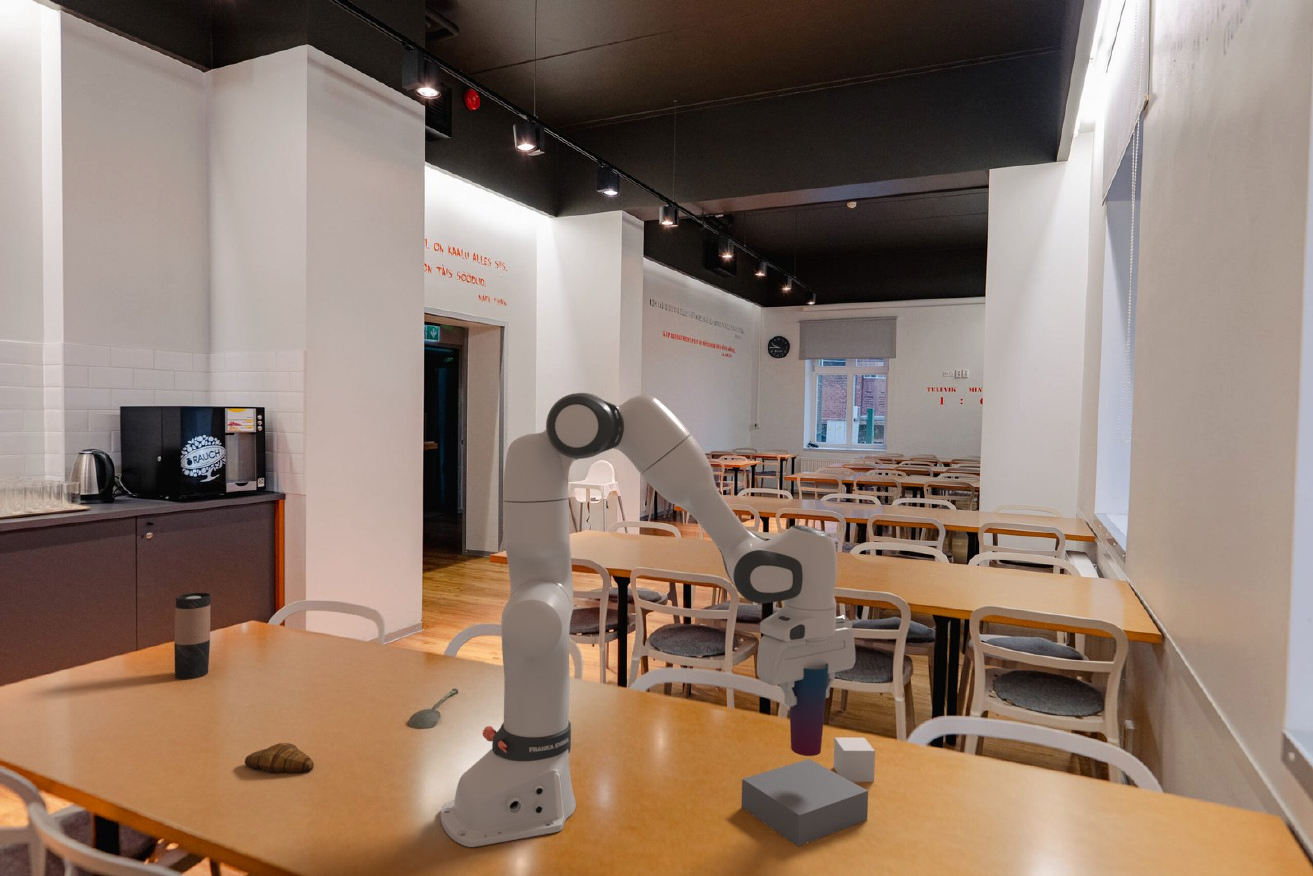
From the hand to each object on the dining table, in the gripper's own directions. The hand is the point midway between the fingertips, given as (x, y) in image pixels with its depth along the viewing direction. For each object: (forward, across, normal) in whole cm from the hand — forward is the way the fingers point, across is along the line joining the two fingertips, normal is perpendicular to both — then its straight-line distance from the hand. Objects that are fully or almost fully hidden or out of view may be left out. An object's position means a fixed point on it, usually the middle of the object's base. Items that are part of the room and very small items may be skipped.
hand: (807, 701), depth 127 cm
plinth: (+19, 0, 0) cm, 19 cm away
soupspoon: (+20, +40, -76) cm, 88 cm away
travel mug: (+19, +87, -128) cm, 156 cm away
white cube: (+20, -19, -6) cm, 28 cm away
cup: (+8, 0, 0) cm, 8 cm away
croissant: (+20, +74, -62) cm, 99 cm away
